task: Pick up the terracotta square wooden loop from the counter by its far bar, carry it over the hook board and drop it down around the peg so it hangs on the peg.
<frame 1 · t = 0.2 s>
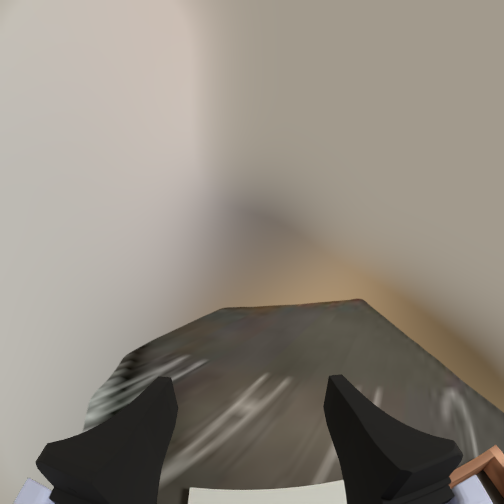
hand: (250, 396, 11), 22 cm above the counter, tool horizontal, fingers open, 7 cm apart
loop: (475, 503, 12), on the counter
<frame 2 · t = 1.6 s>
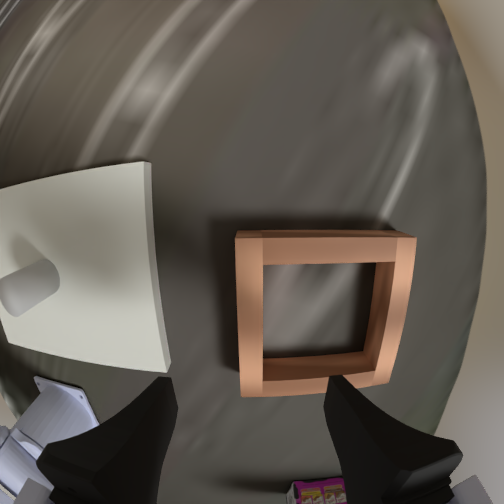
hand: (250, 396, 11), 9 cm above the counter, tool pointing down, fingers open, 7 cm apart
loop: (319, 308, 21), on the counter
candy bar box: (326, 483, 27), on the counter
hook board: (57, 271, 20), on the counter
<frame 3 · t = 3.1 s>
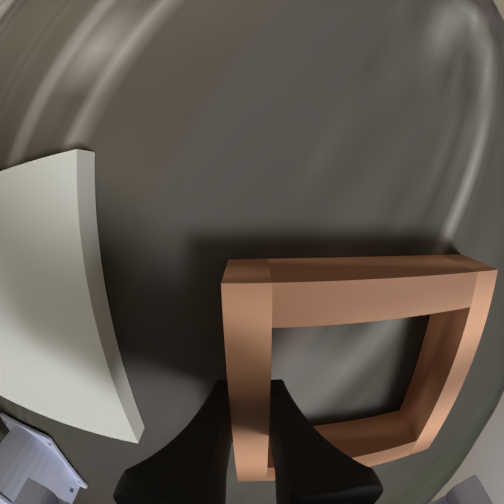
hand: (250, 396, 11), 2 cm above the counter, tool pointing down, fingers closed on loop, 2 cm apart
loop: (350, 368, 13), on the counter, touching gripper
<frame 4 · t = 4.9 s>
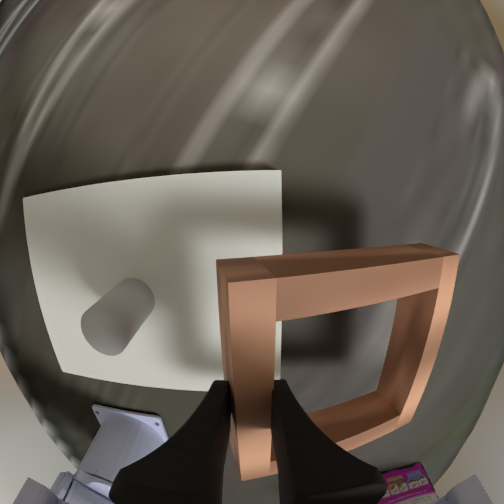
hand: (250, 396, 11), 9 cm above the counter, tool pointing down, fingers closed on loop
loop: (331, 355, 14), point 6 cm above the counter, tilted 14°, touching gripper
candy bar box: (385, 476, 27), on the counter
hook board: (142, 290, 19), on the counter
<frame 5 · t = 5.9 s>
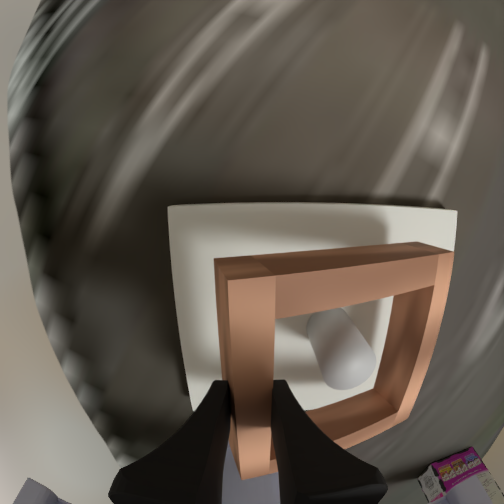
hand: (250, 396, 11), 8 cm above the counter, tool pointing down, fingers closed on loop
loop: (328, 353, 15), point 5 cm above the counter, tilted 16°, touching gripper
candy bar box: (445, 462, 27), on the counter
hook board: (323, 316, 19), on the counter
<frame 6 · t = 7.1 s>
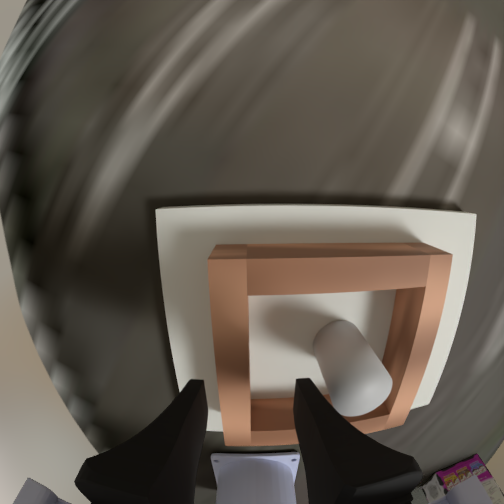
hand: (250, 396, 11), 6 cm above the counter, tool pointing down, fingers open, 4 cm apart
loop: (323, 342, 16), point 1 cm above the counter, touching hook board
candy bar box: (450, 469, 25), on the counter
hook board: (330, 330, 17), on the counter
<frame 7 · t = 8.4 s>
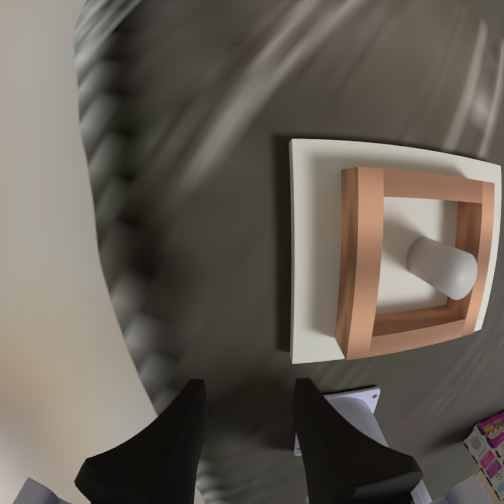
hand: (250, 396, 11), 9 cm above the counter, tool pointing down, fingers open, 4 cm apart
loop: (413, 256, 18), point 1 cm above the counter, touching hook board
candy bar box: (486, 424, 27), on the counter
hook board: (412, 252, 20), on the counter
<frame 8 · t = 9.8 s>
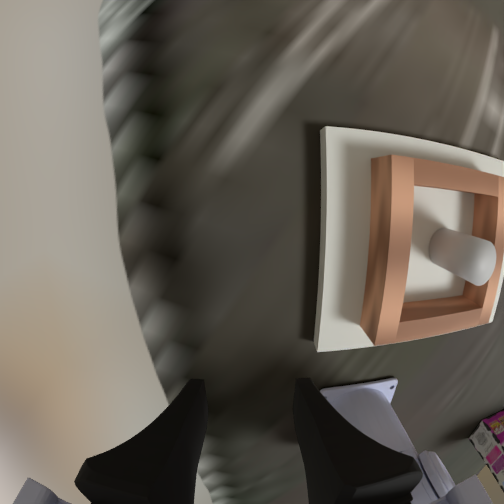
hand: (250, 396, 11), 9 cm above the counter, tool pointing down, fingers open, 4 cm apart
loop: (434, 246, 18), point 1 cm above the counter, touching hook board
candy bar box: (490, 421, 27), on the counter
hook board: (432, 242, 19), on the counter
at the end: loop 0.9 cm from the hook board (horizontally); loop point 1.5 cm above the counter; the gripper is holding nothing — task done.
